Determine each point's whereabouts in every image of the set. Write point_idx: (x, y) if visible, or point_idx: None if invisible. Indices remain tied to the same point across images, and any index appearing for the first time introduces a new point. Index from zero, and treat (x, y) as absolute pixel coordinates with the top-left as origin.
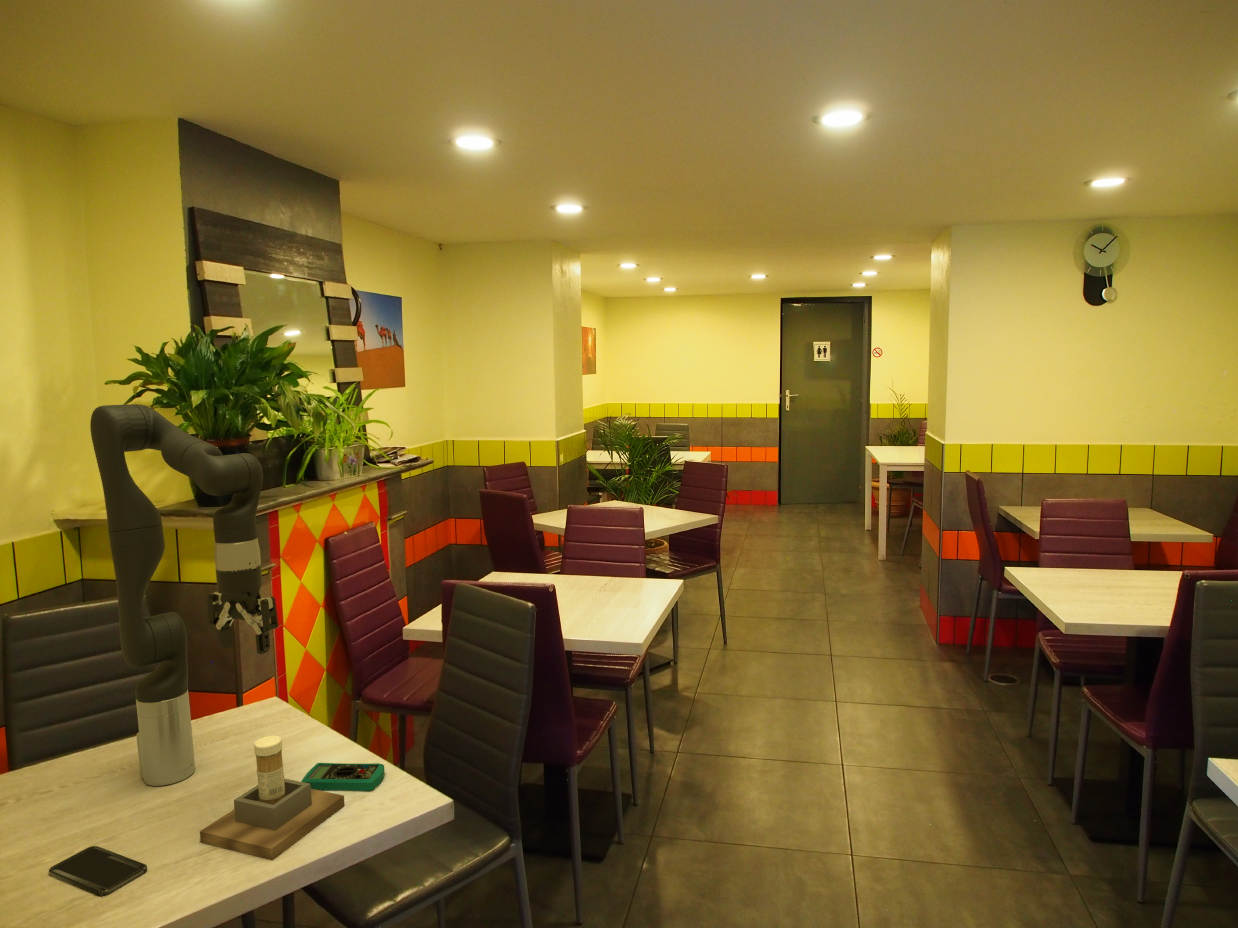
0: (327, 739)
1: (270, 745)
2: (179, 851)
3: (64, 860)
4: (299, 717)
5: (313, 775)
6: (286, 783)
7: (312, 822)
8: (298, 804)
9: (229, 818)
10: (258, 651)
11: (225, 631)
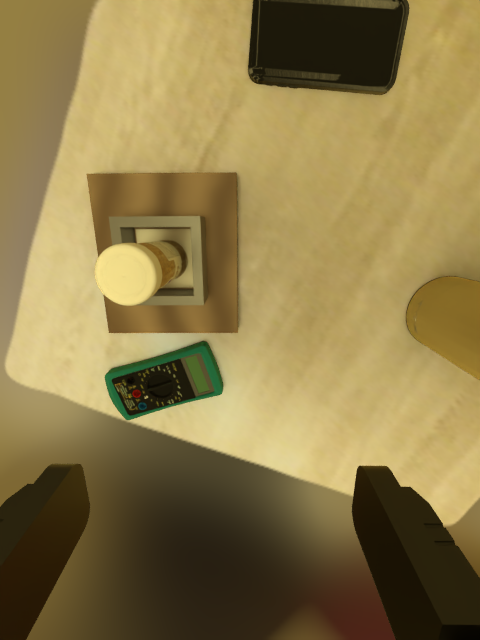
0: (280, 462)
1: (97, 259)
2: (246, 142)
3: (402, 34)
4: None
5: (200, 365)
6: (163, 295)
7: None
8: None
9: (221, 220)
10: (52, 471)
11: (421, 618)
